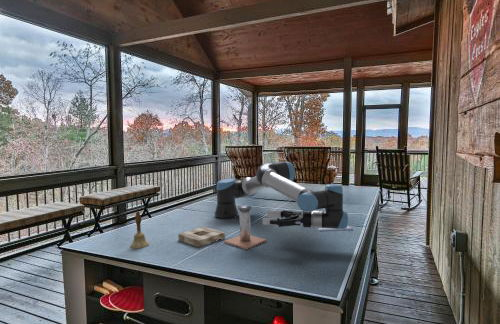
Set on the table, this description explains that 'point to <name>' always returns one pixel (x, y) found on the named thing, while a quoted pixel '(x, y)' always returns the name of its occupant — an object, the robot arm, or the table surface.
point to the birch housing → (201, 236)
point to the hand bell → (139, 235)
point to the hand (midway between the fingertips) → (264, 217)
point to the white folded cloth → (334, 229)
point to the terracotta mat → (245, 245)
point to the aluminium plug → (245, 223)
